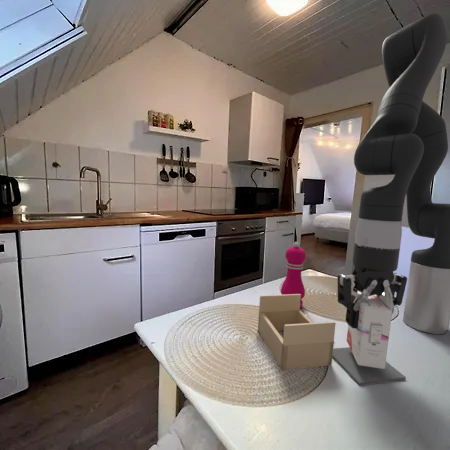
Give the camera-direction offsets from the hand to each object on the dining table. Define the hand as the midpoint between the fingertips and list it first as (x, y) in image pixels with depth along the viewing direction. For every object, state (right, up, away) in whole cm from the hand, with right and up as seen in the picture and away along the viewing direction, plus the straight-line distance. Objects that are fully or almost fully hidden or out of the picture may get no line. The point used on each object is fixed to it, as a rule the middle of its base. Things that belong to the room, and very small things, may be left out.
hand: (366, 325), depth 50 cm
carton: (-14, -7, +6) cm, 17 cm away
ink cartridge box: (0, -6, +1) cm, 6 cm away
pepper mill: (-8, -5, +28) cm, 29 cm away
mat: (0, -8, +1) cm, 8 cm away
